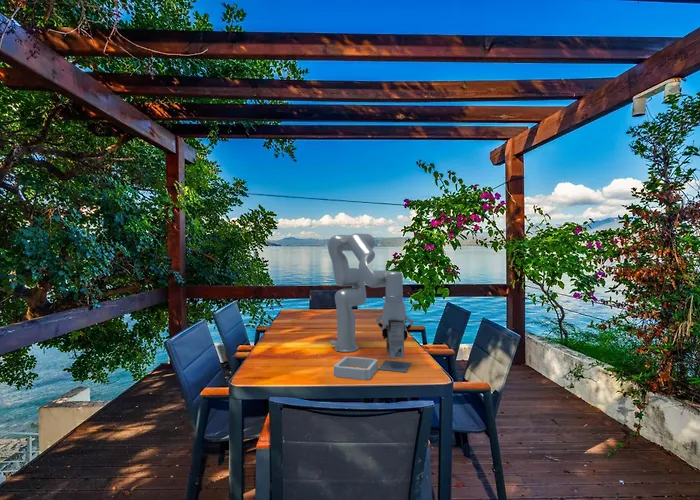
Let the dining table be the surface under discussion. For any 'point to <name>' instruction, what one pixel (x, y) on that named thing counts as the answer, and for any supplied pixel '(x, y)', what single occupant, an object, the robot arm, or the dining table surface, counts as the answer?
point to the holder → (356, 373)
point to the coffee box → (395, 339)
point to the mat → (395, 366)
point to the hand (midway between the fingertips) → (394, 338)
